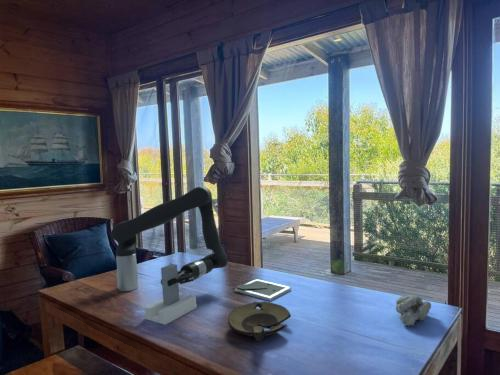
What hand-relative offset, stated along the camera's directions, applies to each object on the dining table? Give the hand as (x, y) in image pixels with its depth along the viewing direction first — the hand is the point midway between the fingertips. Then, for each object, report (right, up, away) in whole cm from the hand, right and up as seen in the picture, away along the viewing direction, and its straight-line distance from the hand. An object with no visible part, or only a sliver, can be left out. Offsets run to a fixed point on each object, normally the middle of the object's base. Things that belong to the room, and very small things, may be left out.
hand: (164, 283), depth 145 cm
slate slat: (+2, -9, +3) cm, 9 cm away
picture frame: (+40, -11, +24) cm, 48 cm away
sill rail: (+2, -13, +3) cm, 14 cm away
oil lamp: (+36, -13, -16) cm, 42 cm away
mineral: (+93, -11, -11) cm, 95 cm away
